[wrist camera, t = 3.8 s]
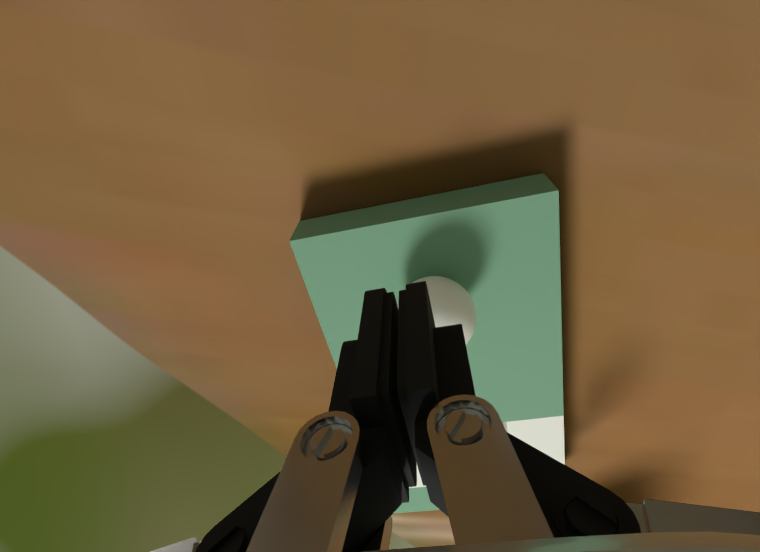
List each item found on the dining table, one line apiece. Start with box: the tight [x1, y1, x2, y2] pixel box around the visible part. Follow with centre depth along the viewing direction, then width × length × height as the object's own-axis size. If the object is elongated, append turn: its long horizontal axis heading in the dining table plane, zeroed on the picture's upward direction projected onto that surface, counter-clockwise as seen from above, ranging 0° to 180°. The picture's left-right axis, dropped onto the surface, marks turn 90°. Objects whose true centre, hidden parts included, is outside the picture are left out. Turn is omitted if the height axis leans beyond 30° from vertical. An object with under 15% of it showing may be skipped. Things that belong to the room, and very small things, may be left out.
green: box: [289, 173, 565, 513], centre depth 24 cm, size 13×24×10 cm, turn 13°
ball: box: [397, 276, 476, 344], centre depth 21 cm, size 4×4×4 cm
